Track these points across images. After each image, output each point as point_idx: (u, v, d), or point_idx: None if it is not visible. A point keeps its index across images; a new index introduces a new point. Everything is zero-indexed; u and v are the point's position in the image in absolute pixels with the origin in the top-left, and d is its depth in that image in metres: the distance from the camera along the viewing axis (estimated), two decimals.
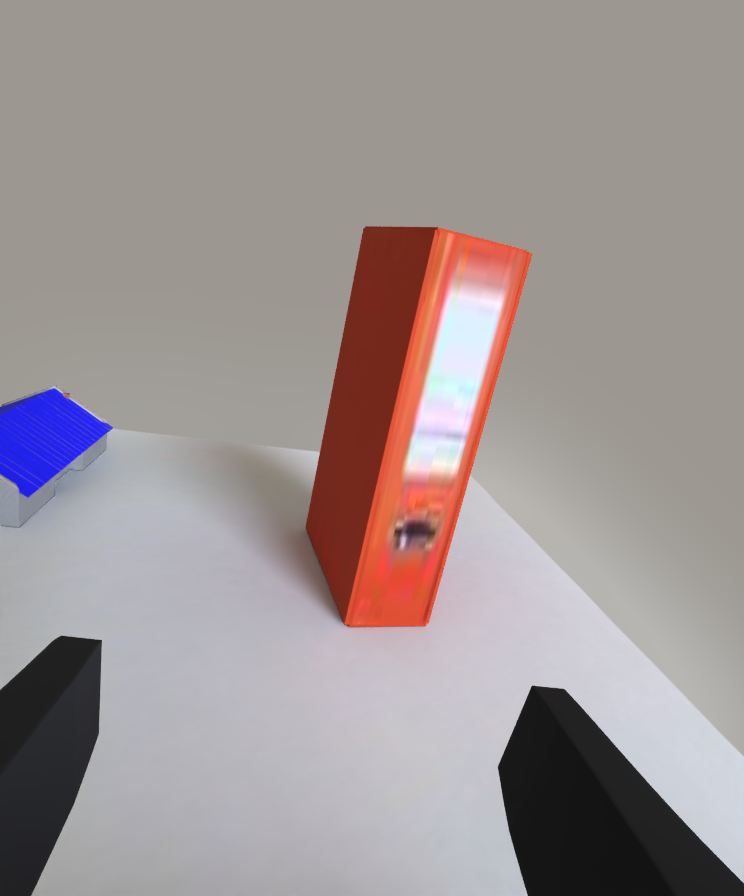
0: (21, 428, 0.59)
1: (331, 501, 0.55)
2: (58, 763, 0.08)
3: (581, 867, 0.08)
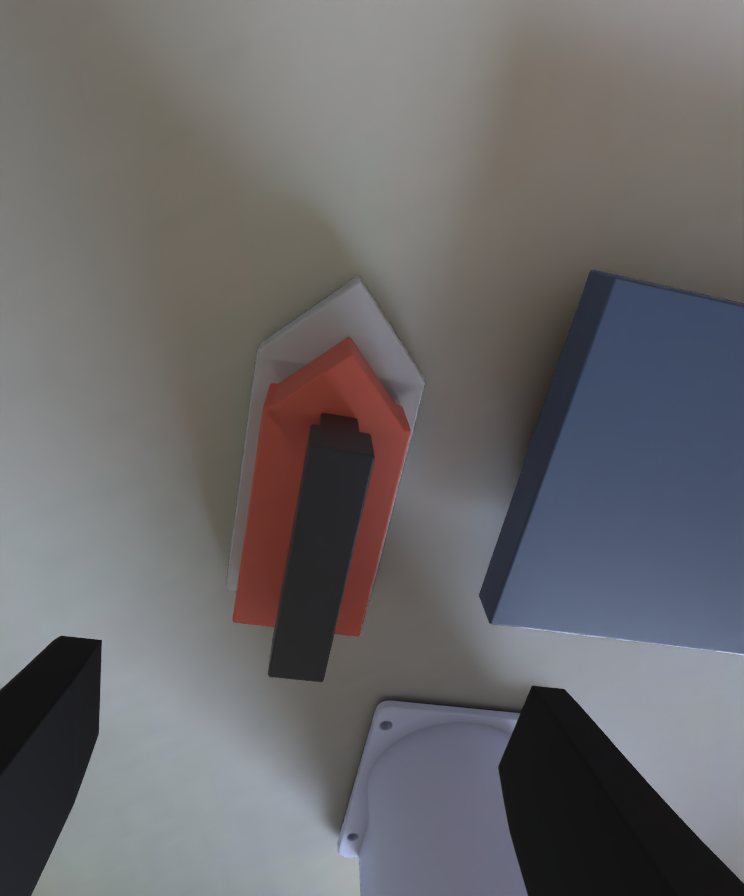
0: None
1: None
2: (58, 763, 0.08)
3: (581, 867, 0.08)
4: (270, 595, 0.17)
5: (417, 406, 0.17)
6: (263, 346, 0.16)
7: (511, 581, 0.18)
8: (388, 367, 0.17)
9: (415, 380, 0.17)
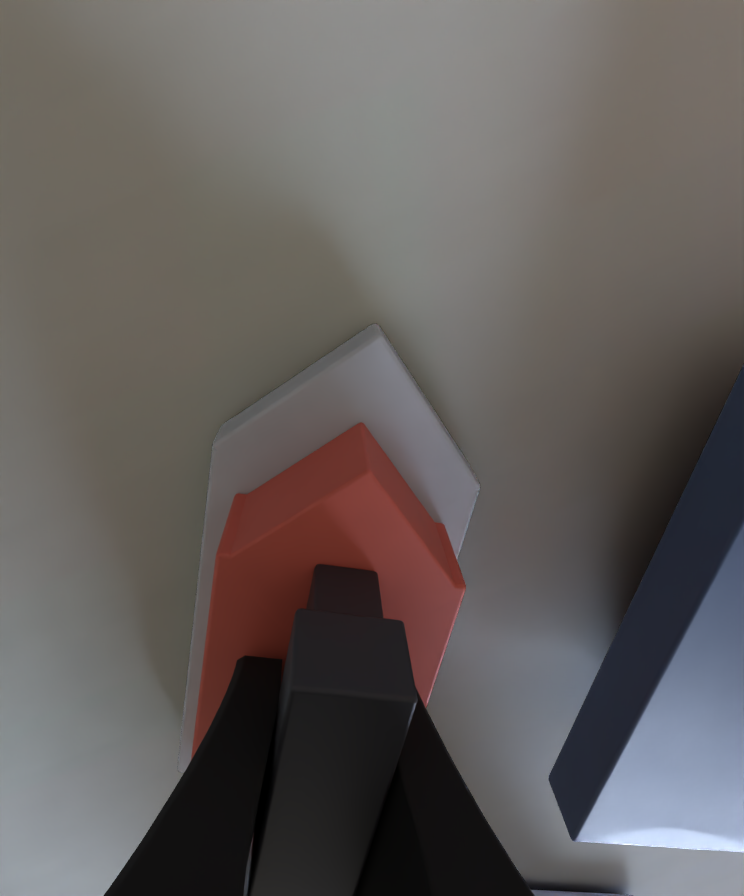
0: None
1: None
2: (263, 779, 0.08)
3: (382, 856, 0.07)
4: None
5: (466, 522, 0.11)
6: (222, 437, 0.10)
7: (610, 788, 0.11)
8: (422, 467, 0.10)
9: (465, 485, 0.11)
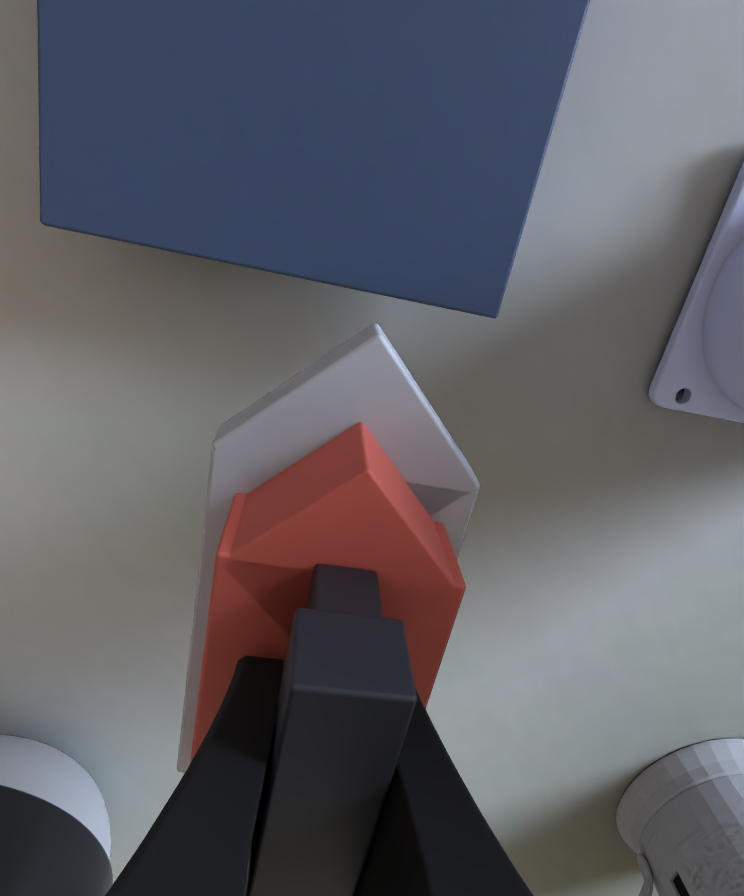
0: None
1: None
2: None
3: (381, 856, 0.07)
4: None
5: (466, 522, 0.11)
6: (222, 437, 0.10)
7: (434, 297, 0.14)
8: (422, 466, 0.10)
9: (465, 485, 0.11)
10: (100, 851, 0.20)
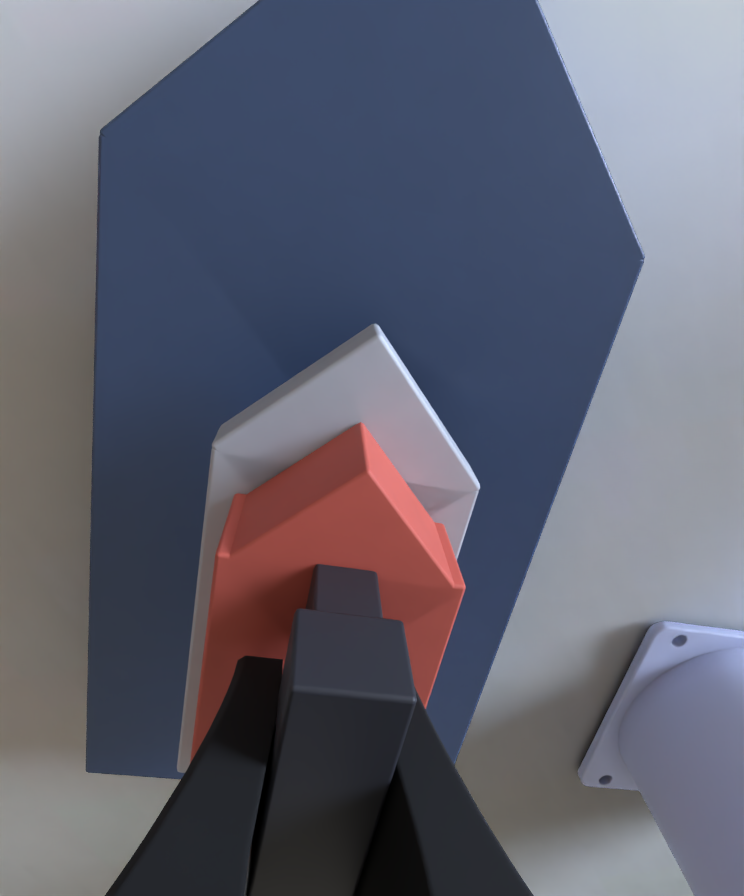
0: None
1: None
2: (264, 778, 0.08)
3: (381, 856, 0.07)
4: None
5: (466, 522, 0.11)
6: (222, 437, 0.10)
7: None
8: (422, 466, 0.10)
9: (465, 485, 0.11)
10: None
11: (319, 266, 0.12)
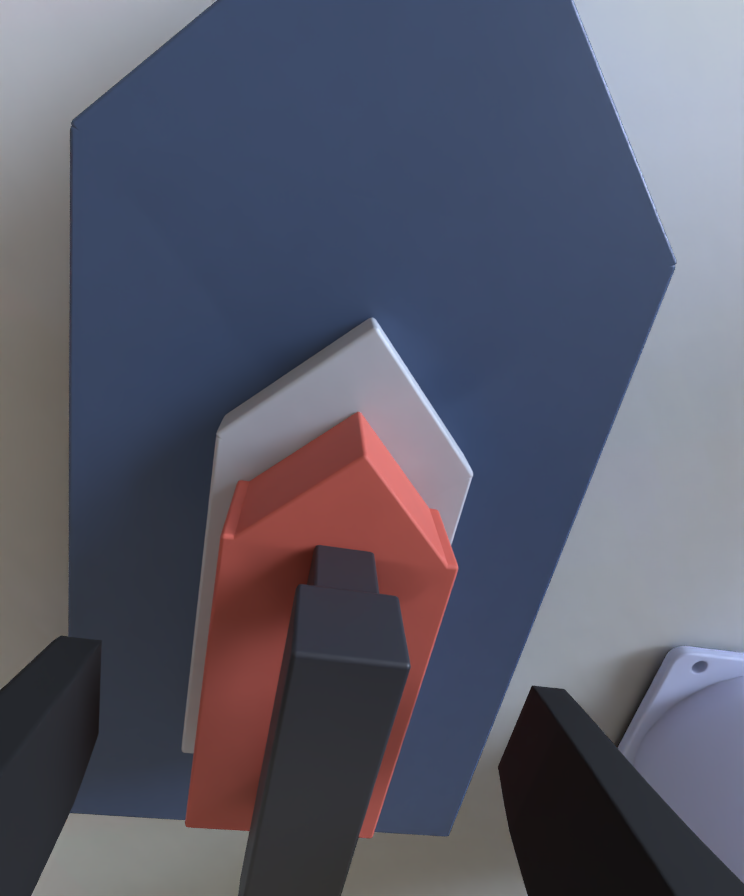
0: None
1: None
2: (58, 763, 0.08)
3: (581, 867, 0.08)
4: (240, 793, 0.11)
5: (460, 509, 0.12)
6: (226, 426, 0.11)
7: (394, 830, 0.17)
8: (417, 455, 0.11)
9: (458, 473, 0.11)
10: None
11: (317, 273, 0.10)
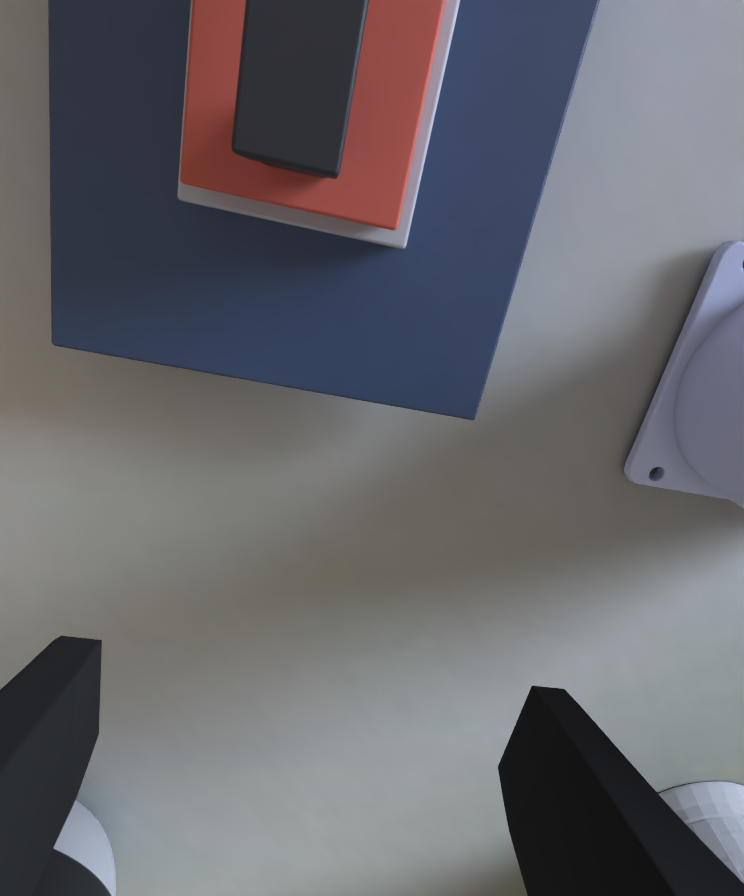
0: None
1: None
2: (58, 763, 0.08)
3: (581, 867, 0.08)
4: None
5: None
6: None
7: (415, 403, 0.15)
8: None
9: None
10: (106, 895, 0.22)
11: None
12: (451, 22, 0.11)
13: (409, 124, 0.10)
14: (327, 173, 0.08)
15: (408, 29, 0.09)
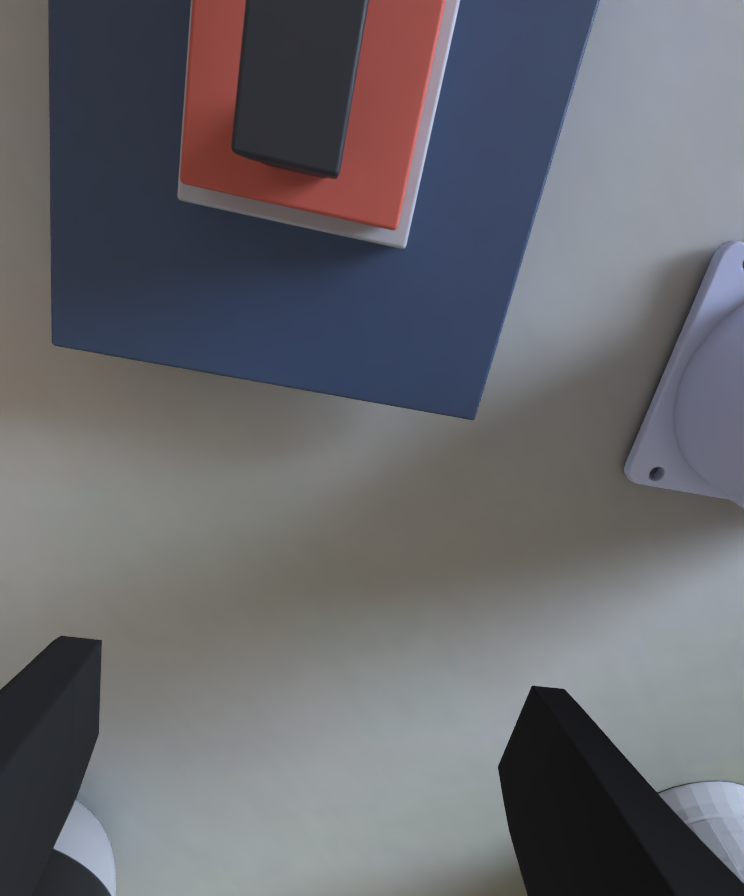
0: None
1: None
2: (58, 763, 0.08)
3: (581, 867, 0.08)
4: None
5: None
6: None
7: (415, 403, 0.15)
8: None
9: None
10: (106, 895, 0.22)
11: None
12: (451, 22, 0.11)
13: (409, 124, 0.10)
14: (327, 173, 0.08)
15: (408, 29, 0.09)
